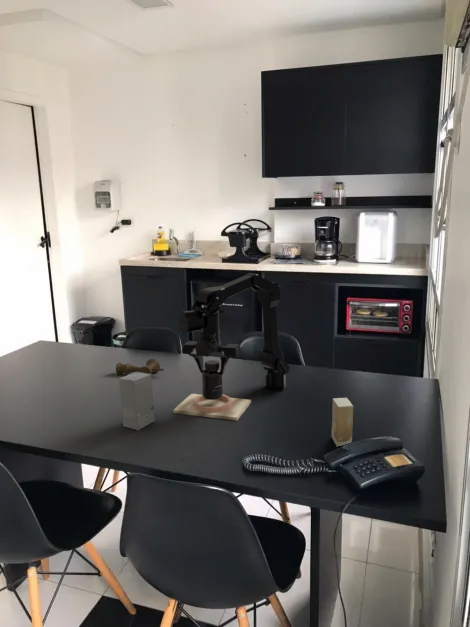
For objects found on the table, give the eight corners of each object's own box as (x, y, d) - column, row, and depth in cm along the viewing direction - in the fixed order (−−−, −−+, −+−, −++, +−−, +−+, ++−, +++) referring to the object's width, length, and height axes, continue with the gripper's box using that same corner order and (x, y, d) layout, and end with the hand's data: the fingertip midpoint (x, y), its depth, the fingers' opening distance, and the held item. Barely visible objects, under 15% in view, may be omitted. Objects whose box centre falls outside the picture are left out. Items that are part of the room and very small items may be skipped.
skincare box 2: (331, 437, 146) (331, 397, 144) (345, 436, 147) (346, 396, 144) (337, 447, 140) (338, 406, 137) (352, 446, 140) (353, 405, 138)
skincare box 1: (138, 431, 153) (134, 381, 149) (120, 426, 156) (117, 378, 153) (156, 421, 160) (153, 373, 156) (139, 416, 163) (136, 370, 160)
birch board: (250, 402, 173) (250, 399, 172) (237, 420, 159) (237, 417, 159) (191, 396, 179) (191, 393, 179) (173, 412, 166) (173, 410, 165)
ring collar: (236, 399, 173) (236, 395, 172) (224, 414, 161) (223, 409, 161) (202, 396, 177) (202, 392, 176) (188, 410, 165) (188, 405, 165)
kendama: (123, 371, 209) (169, 372, 205) (113, 380, 200) (160, 381, 196) (121, 357, 208) (167, 358, 204) (111, 365, 199) (159, 366, 194)
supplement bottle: (220, 401, 164) (219, 366, 162) (200, 399, 166) (198, 365, 163) (224, 393, 171) (224, 359, 168) (205, 392, 172) (204, 358, 170)
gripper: (173, 332, 159) (176, 379, 162) (229, 336, 153) (231, 384, 156) (187, 324, 169) (189, 368, 172) (240, 327, 163) (241, 372, 167)
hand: (212, 373), depth 167 cm, fingers closed on supplement bottle, 7 cm apart
